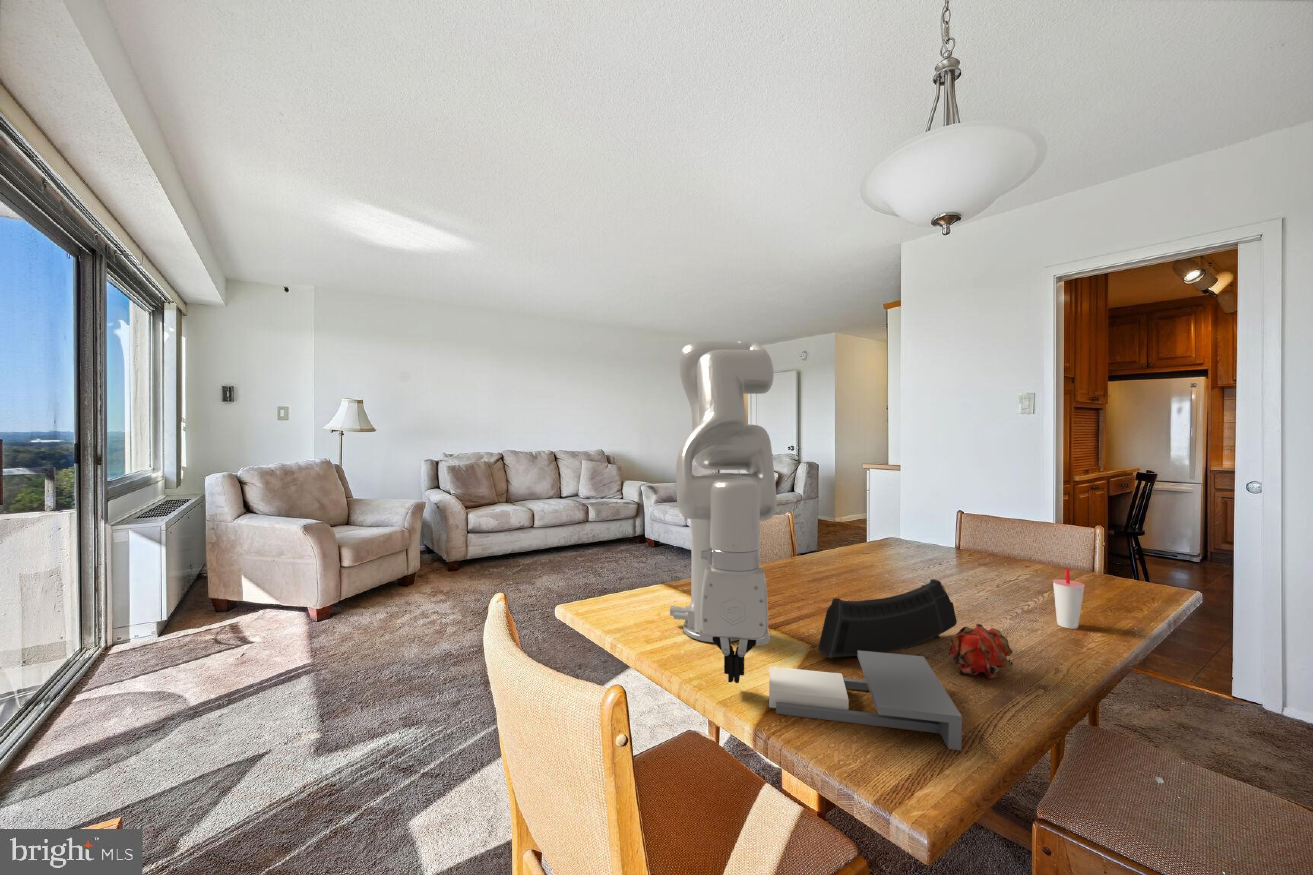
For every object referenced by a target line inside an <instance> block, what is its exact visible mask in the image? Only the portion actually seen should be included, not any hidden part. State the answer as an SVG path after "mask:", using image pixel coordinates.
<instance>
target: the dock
mask: <svg viewBox="0 0 1313 875" xmlns="http://www.w3.org/2000/svg"><path fill="white" fill-rule="evenodd" d="M857 659H858V661H859V664H860V668H861V671H862V673H863V676H864V679H858V678H849V677H848V678H847V677H843V680H844V684H845V688H846V690H847V689H848V690H857V691H865V692H869V693H870V696H871V699H872V701H873V704H874V708H875V709H876V713H874V712H868V711H858V710H850V709H848V710H842V709H834V708H825V707H817V706H808V705H799V704H791V703H782V702H776V708H775V714H776V715H783V716H792V717H793V716H794V717H802V718H807V719H808V718H809V719H810V718H811V719H816V720H826V721H827V720H828V721H833V722H842V723H848V724H849V723H850V724H859V725H866V726H867V725H868V726H875V727H884V728H892V729H898V730H900V729H901V730H909V731H916V732H926V733H932V734H933V733H935V734H940V737H941V738H942V740H943V742H944V743H945V745H946V747H947V749H948V750H955V751H962V740H963V738H962V735H963V731H962V730H963V729H962V728H963V715H962V714H961V712H960V711H959V709H958V707H957V706H956V704H955V703H954V702H953V700H952V698H951V697H950V695H949V694H948V692H947V690H946V689H945V688H944V686H943V685H942V682H941V681H940V680H939V678H938V677H937V675H936V673H935V672H934V670H933V668H932V667H931V666H930V664H929V662H928V661H927V659H926V658H925V656H921V655H920V656H919V655H913V654H912V655H911V654H910V655H909V654H901V653H900V654H899V653H892V652H888V653H880V652H870V651H859V650H858V656H857Z"/></svg>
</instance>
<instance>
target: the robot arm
mask: <svg viewBox="0 0 1313 875" xmlns="http://www.w3.org/2000/svg"><path fill="white" fill-rule="evenodd" d="M678 362H679V374H680V380H681V385H682V388H683V390H684V392H685V395H686V397H687V401H688V403H689V406H690V408H691V428H692V429H691V432H690V433H689V434H688V435H687V437H686V438H685V439H684V441H683V443H682V445H681V447H680V449H679V451H678V455H677V459H676V465H675V466H676V467H675V468H676V470H675V471H676V473H675V477H676V478H675V479H676V482H675V484H676V486H675V487H676V492H675V493H676V502H677V508H678V511H679V514H681V515H682V516H683V517H684V518H686V519H688V520H690V534H691V539H690V540H691V541H690V542H691V550H690V551H691V552H690V553H691V561H690V562H691V563H690V564H691V569H690V570H691V572H690V573H691V580H690V583H691V584H690V585H691V587H690V588H691V589H690V592H691V594H690V597H691V598H690V605H685V607H681V606H677V605H676V606H674V605H670V607H669V616H670V617H672V616H673V620H679V621H680V620H682V621H684V622H683V624H682V625H683V627H682V630H683V632H684V634H685V635H687V636H688V637H690V638H691V639H695V640H697V641H701V642H705V643H713V644H714V645H716V647H717V648H719V649H720V650H721V654H722V655H723V656H724V657H723V659H724V660H723V662H724V663H723V674H724V675H725V674H726V675H727V676H728V677H727V681H728V683H733V682H734V683H735V684H740V678H741V676H745V657H746V654H748V652H750V651H751V649H753V648H754V647H755V646H762V645H768V644H770V642H771V640H770V639H771V637H770V633H769V603H768V602H769V601H768V600H769V598H768V587H767V579H766V575H765V570H764V568H762V567H760V541H761V540H760V539H761V538H760V528H761V526H760V522H764V521H765V522H766V521H769V520H770V519H772V518H774V516H775V514H776V511H777V503H778V500H777V499H778V497H777V487H776V477H775V469H774V468H775V467H774V459H773V458H774V457H773V450H772V449H773V448H772V443H771V442H772V441H771V438H770V435H769V434H768V432H767V430H766V429H765V428H764V427H763V426H761V425H758V424H746V423H747V416H746V408H745V399H744V398H745V396H744V394H745V395H747V394H748V395H751V394H752V395H753V394H754V395H759V394H760V395H763V394H766V393H768V392H769V391H770V390H771V388H772V386H773V382H774V376H775V374H774V365H773V361H772V358H771V356H770V354H769V352H768V351H767V350H766V349H765V348H764V347H763V346H762V345H761V344H760V343H758V342H756V341H741V340H739V341H736V340H735V341H732V340H728V341H727V340H705V341H704V340H703V341H702V340H701V341H694V342H690V343H688V344H686V345H685V346H684V347H682V348H681V350H680V353H679V360H678ZM693 461H694V462H695V464H696V465H697V466H698V467H700V468H701V469H704V470H713V471H715V470H716V471H746V473H741V472H740V473H735V472H734V473H733V472H709V473H700V474H693ZM736 641H738V646H737V647H736V649H735V650H734V647H733V646H732V642H736Z"/></svg>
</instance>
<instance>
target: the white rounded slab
mask: <svg viewBox="0 0 1313 875" xmlns="http://www.w3.org/2000/svg"><path fill="white" fill-rule="evenodd" d="M843 678H844V677H843V674H842V673H839V672H829V671H817V670H810V669H809V670H808V669H799V668H790V667H779V666H769V689H768V694H769V695H768V708H770V709H771V708H772V709H776V702H782V703H791V704H799V705H808V706H817V707H825V708H834V709H842V710H849V709H850V708H849V704H850V703H849V701H850V700H849V696H848V693H847V689H846V688H845V684H844V680H843Z"/></svg>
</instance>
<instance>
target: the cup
mask: <svg viewBox="0 0 1313 875" xmlns="http://www.w3.org/2000/svg"><path fill="white" fill-rule="evenodd" d="M1064 571H1065V573H1064V574H1065V579H1052V582H1053V584H1052V585H1053V593H1054V595H1053V596H1054V604H1055V615H1056V624H1057V625H1058V626H1060V627H1062V628H1066V629H1071V630H1072V629H1073V630H1074V629H1075V630H1076V629H1078V628H1079V623H1080V619H1081V611H1082V603H1083V598H1084V591H1085V586H1086V585H1085V584H1084V583H1082V582H1078V581H1073V580H1070V568H1066V569H1065V570H1064Z"/></svg>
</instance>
